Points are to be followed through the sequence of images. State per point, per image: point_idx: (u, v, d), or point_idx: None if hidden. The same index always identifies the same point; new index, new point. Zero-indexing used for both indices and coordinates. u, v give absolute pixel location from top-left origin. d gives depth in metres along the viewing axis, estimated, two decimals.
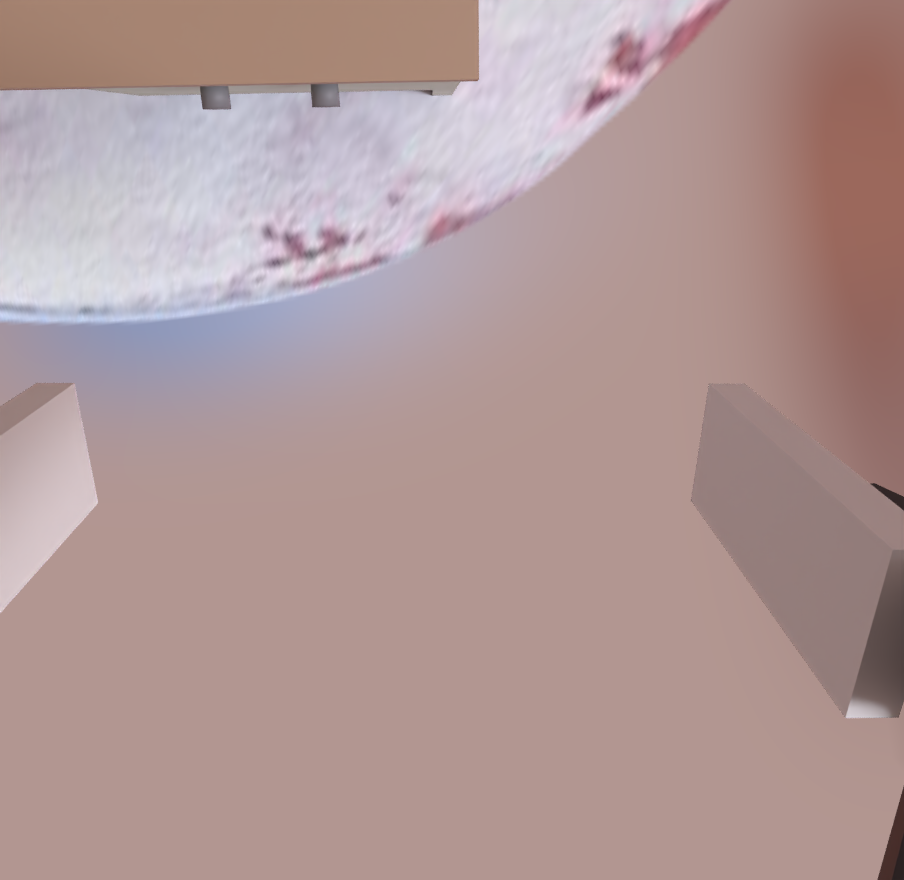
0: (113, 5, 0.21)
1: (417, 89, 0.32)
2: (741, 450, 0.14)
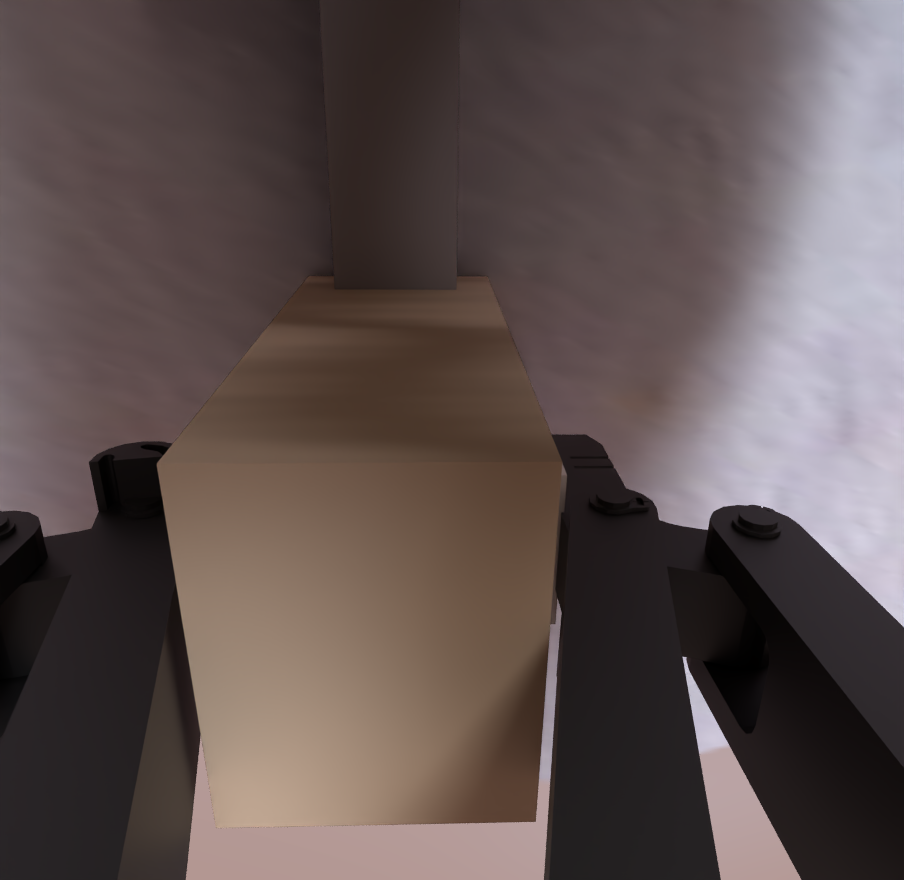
0: None
1: None
2: None
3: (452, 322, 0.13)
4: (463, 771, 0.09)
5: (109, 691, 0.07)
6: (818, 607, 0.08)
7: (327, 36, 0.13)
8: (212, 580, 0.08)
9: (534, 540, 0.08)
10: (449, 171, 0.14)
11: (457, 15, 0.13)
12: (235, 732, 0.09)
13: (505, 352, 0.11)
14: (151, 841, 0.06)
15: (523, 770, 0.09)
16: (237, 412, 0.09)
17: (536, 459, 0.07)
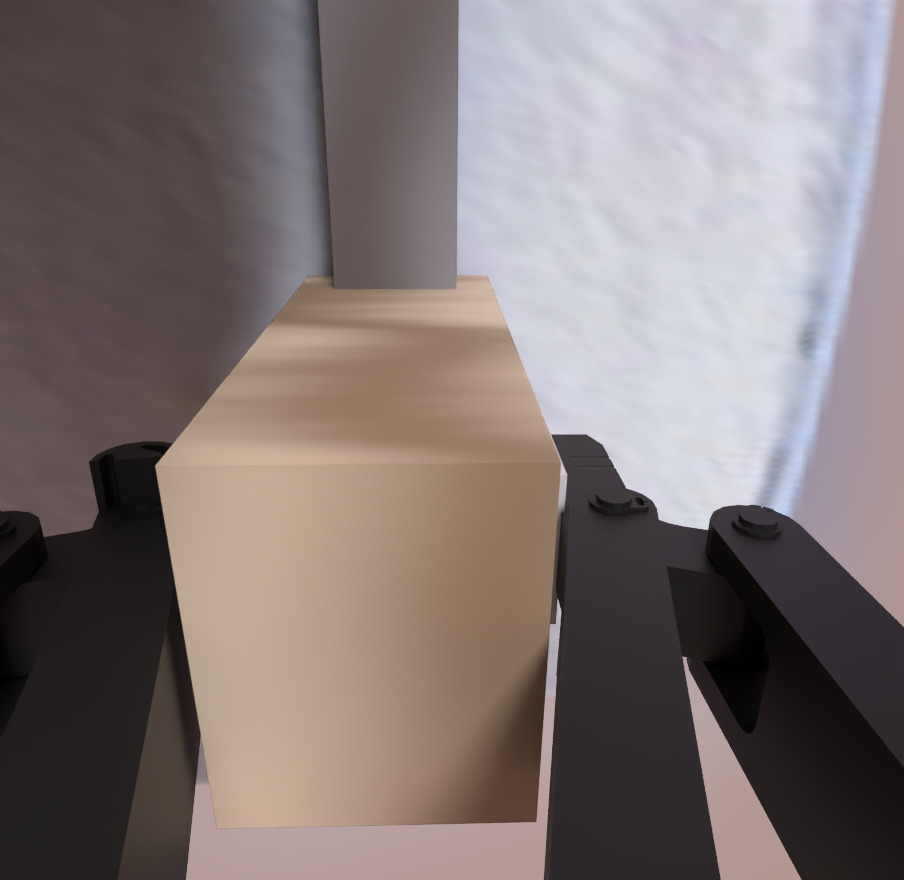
0: None
1: None
2: None
3: (452, 322, 0.13)
4: (463, 772, 0.09)
5: (109, 692, 0.07)
6: (818, 607, 0.08)
7: (326, 35, 0.13)
8: (211, 581, 0.08)
9: (533, 541, 0.08)
10: (449, 170, 0.14)
11: (456, 14, 0.13)
12: (235, 733, 0.09)
13: (505, 351, 0.11)
14: (151, 841, 0.06)
15: (523, 770, 0.09)
16: (236, 413, 0.09)
17: (534, 460, 0.07)
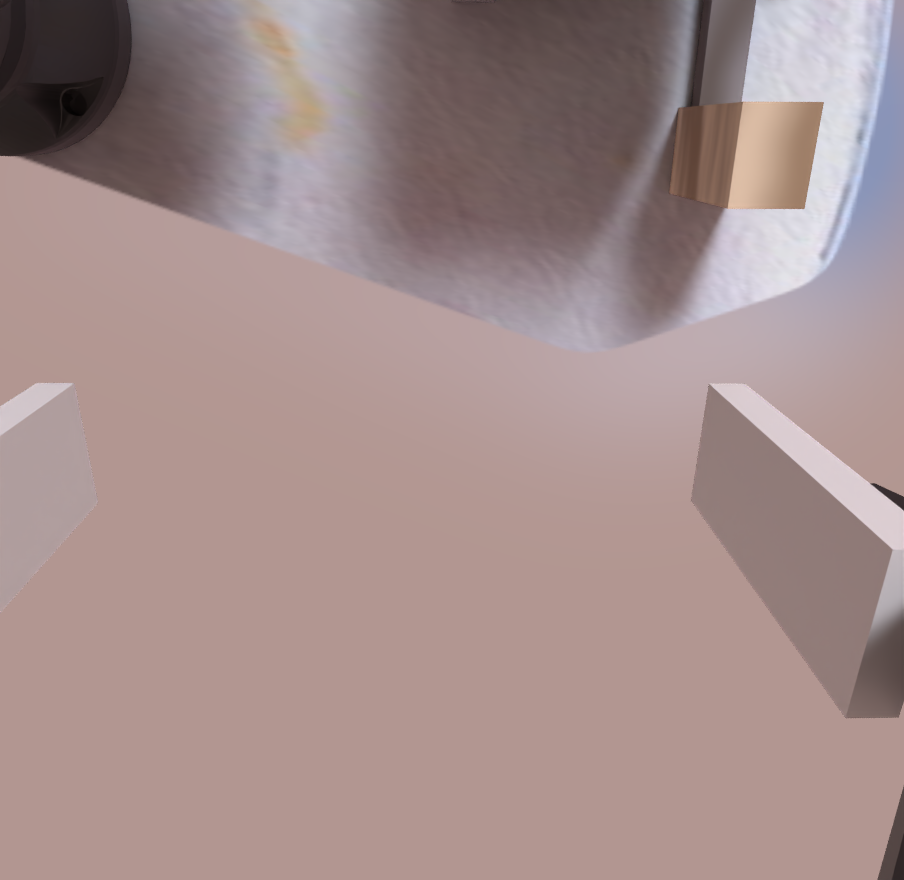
0: None
1: None
2: (741, 449, 0.14)
3: None
4: (789, 191, 0.38)
5: None
6: None
7: (711, 19, 0.42)
8: (746, 131, 0.36)
9: (815, 122, 0.36)
10: (744, 64, 0.43)
11: (753, 12, 0.42)
12: (739, 177, 0.37)
13: None
14: None
15: (803, 191, 0.38)
16: None
17: (818, 102, 0.36)
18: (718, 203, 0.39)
